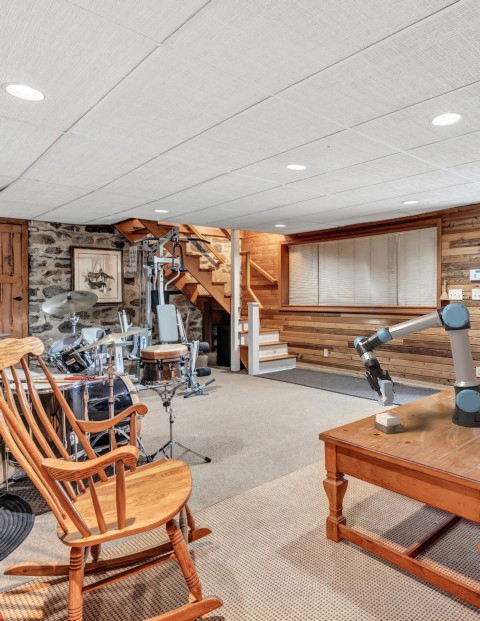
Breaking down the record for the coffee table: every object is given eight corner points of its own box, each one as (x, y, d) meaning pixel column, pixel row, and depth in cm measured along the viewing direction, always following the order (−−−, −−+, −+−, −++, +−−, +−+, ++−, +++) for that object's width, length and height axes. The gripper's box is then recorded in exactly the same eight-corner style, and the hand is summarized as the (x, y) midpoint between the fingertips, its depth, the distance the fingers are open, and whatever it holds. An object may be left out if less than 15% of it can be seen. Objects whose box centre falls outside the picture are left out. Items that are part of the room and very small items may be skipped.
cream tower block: (388, 420, 216) (388, 412, 216) (399, 424, 208) (399, 416, 208) (376, 422, 213) (376, 414, 213) (387, 426, 205) (387, 418, 205)
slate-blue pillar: (386, 402, 214) (386, 380, 214) (392, 405, 209) (392, 382, 209) (378, 403, 213) (378, 380, 212) (384, 406, 208) (384, 382, 207)
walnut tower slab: (390, 426, 217) (390, 419, 217) (403, 432, 208) (403, 425, 207) (374, 429, 214) (374, 421, 214) (386, 435, 205) (386, 427, 204)
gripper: (382, 365, 227) (401, 402, 213) (353, 367, 222) (371, 405, 207) (388, 357, 222) (408, 394, 207) (358, 359, 217) (377, 397, 202)
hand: (390, 400), depth 207 cm, fingers closed on slate-blue pillar, 5 cm apart
